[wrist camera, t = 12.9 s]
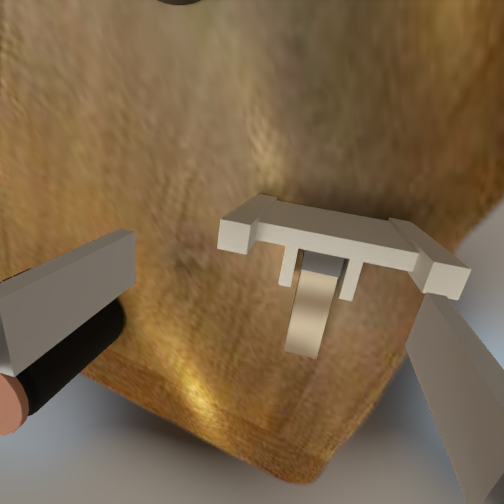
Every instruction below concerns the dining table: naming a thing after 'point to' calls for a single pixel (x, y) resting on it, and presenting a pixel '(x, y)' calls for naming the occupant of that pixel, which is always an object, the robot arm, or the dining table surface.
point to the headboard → (343, 243)
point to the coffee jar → (56, 368)
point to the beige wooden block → (312, 302)
